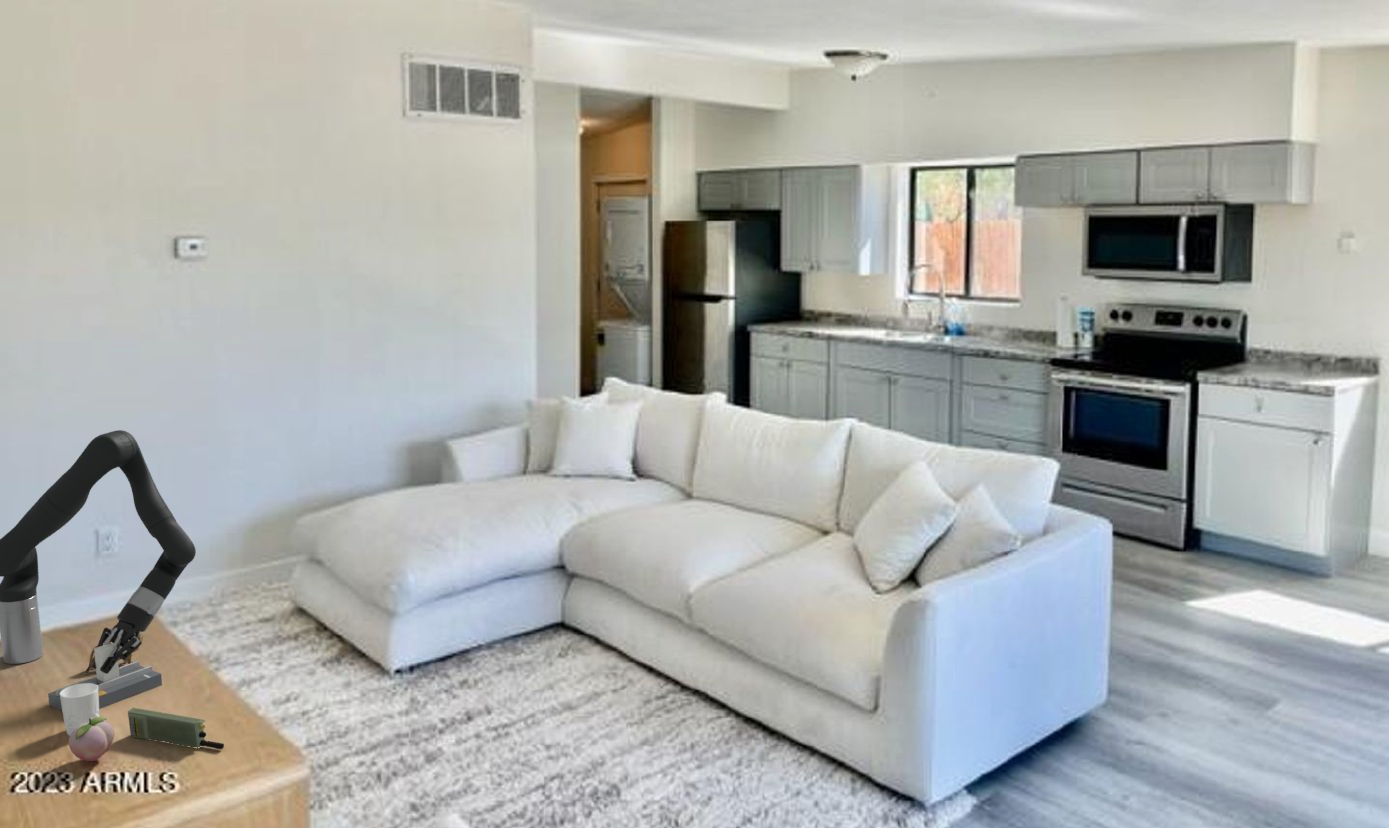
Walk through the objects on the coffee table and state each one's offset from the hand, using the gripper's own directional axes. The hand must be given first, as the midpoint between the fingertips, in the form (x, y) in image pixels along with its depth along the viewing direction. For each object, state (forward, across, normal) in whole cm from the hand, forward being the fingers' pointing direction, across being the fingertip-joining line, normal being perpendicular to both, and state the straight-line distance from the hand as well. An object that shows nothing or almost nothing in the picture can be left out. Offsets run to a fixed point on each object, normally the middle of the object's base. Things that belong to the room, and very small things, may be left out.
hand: (99, 670), depth 280 cm
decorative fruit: (+19, +30, -9) cm, 37 cm away
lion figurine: (-4, -15, +14) cm, 22 cm away
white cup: (+14, +14, -4) cm, 20 cm away
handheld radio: (+8, +37, +2) cm, 38 cm away
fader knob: (+1, 0, +4) cm, 4 cm away
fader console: (+4, 0, +6) cm, 7 cm away
